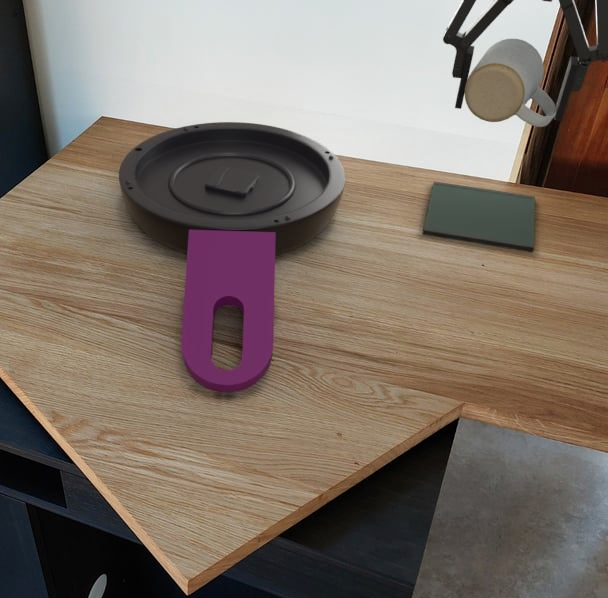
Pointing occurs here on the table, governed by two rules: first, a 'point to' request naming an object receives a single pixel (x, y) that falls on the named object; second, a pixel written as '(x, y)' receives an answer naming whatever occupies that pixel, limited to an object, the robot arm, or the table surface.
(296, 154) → the round tray
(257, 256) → the mounting bracket
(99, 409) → the table surface
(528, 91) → the ceramic mug
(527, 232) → the mat
